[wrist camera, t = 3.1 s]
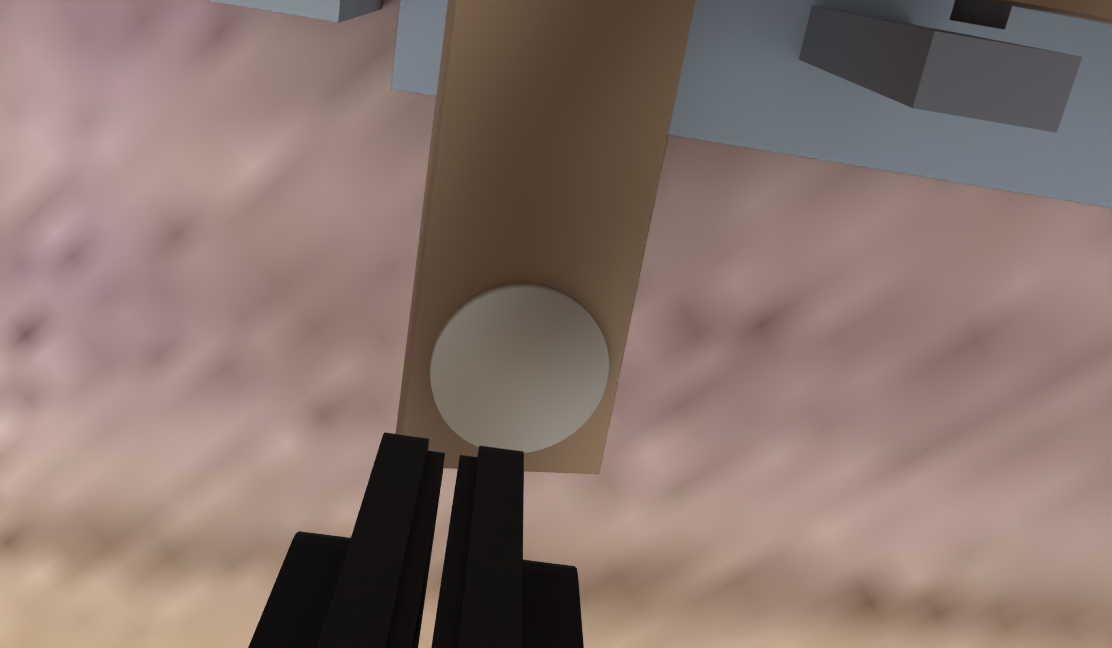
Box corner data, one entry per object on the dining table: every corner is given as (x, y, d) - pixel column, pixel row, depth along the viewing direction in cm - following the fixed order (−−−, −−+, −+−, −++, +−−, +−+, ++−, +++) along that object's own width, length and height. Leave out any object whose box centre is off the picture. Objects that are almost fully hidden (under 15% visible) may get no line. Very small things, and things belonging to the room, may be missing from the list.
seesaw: (1569, -291, 17) (1800, -330, 15) (1222, 476, 23) (1344, 552, 20) (429, -668, 12) (459, -834, 10) (326, 435, 18) (326, 530, 15)
